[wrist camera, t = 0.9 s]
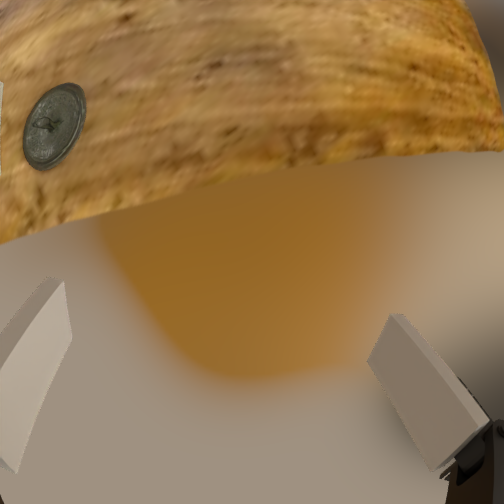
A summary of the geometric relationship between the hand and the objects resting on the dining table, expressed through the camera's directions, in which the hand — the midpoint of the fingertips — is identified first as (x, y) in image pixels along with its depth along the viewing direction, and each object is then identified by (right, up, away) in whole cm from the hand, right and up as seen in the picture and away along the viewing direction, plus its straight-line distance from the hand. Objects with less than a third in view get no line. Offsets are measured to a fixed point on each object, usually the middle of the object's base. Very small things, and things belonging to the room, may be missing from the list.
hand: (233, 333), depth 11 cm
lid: (-22, +18, +16) cm, 33 cm away
